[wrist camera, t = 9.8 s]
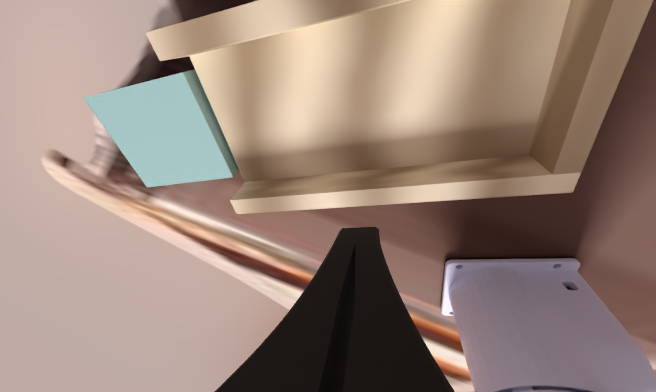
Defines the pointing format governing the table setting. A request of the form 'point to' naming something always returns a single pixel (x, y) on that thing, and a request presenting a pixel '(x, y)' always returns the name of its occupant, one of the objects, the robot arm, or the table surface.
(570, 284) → the robot arm
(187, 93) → the pale teal square slab
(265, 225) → the table surface
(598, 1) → the tray
